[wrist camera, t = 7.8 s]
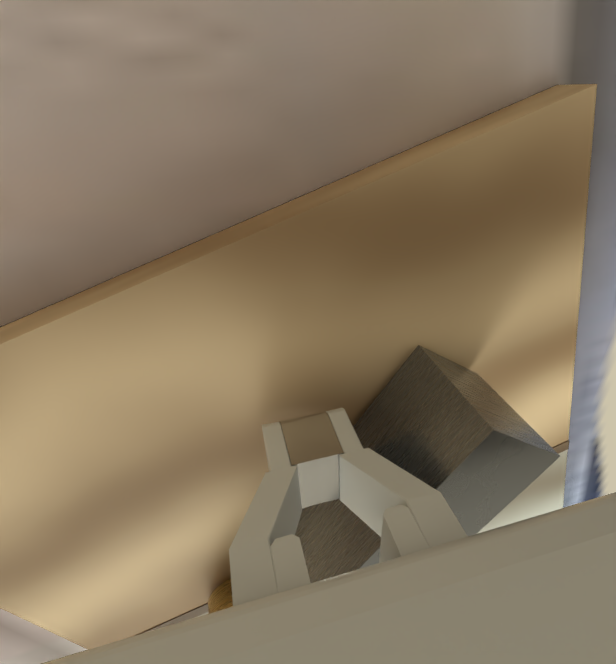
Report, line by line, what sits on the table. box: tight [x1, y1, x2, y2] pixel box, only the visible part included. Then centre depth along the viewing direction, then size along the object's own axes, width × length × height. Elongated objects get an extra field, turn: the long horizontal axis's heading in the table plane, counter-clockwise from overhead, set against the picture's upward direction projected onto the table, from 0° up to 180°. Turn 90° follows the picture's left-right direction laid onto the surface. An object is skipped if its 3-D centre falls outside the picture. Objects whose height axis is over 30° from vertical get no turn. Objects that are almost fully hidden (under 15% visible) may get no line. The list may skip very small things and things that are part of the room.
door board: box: [0, 84, 597, 650], centre depth 17 cm, size 28×22×1 cm
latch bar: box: [208, 345, 560, 614], centre depth 13 cm, size 15×4×4 cm, turn 148°
